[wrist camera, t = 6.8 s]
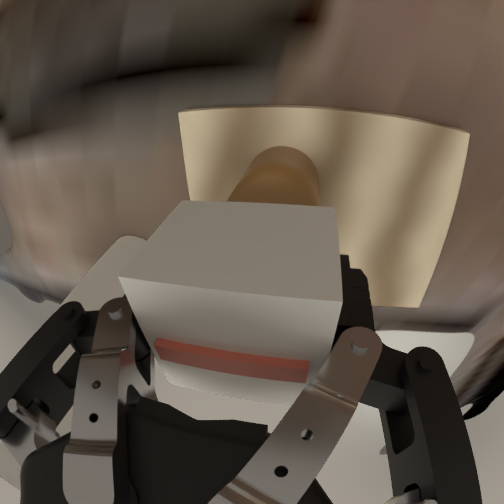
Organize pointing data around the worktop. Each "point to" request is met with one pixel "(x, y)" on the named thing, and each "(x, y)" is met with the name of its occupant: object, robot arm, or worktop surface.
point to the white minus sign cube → (239, 296)
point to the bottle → (279, 179)
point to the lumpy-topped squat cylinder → (4, 232)
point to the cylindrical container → (92, 298)
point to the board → (346, 180)
